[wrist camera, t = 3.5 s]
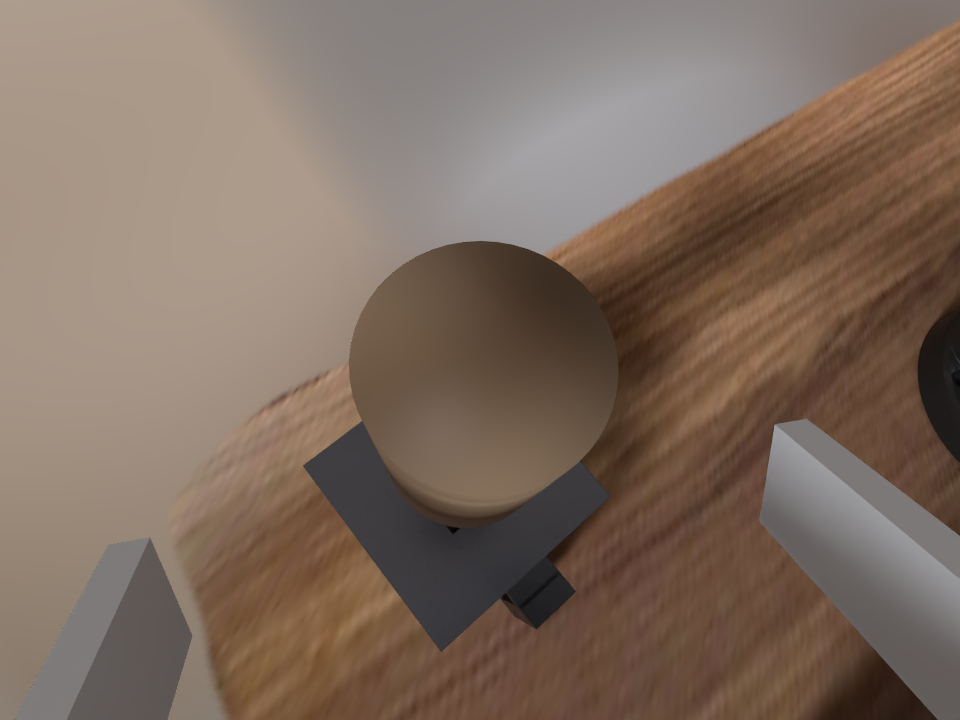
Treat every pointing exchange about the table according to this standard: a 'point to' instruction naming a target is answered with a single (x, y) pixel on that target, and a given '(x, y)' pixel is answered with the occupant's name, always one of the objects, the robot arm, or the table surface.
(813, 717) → the table surface
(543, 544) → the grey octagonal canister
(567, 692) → the table surface
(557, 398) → the plunger
